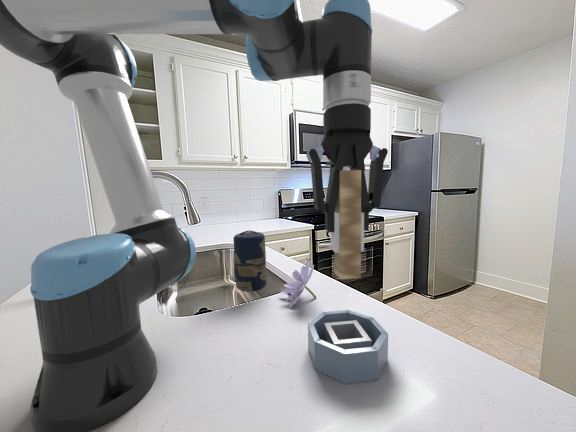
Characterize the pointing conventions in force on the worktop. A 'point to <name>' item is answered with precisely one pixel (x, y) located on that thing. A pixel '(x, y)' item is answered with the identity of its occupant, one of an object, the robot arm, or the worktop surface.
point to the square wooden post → (349, 225)
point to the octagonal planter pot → (348, 346)
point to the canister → (250, 261)
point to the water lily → (298, 284)
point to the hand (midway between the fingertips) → (346, 249)
